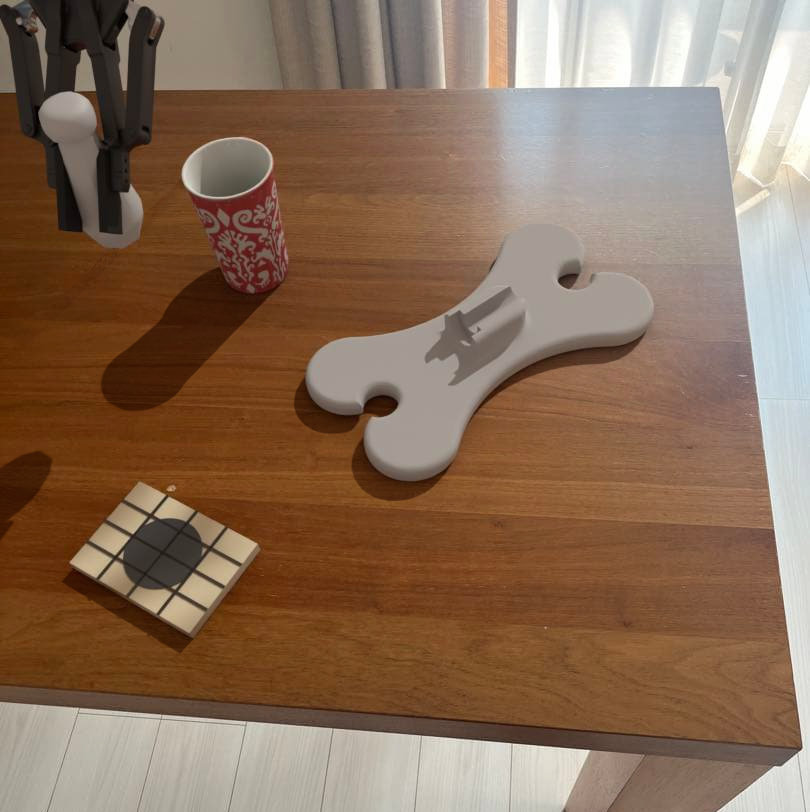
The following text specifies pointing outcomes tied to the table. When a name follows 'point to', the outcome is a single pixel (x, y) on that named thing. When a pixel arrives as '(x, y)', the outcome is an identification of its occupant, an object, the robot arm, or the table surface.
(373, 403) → the table surface
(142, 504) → the grid board
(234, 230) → the mug
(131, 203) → the white pawn
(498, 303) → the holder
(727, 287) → the table surface
